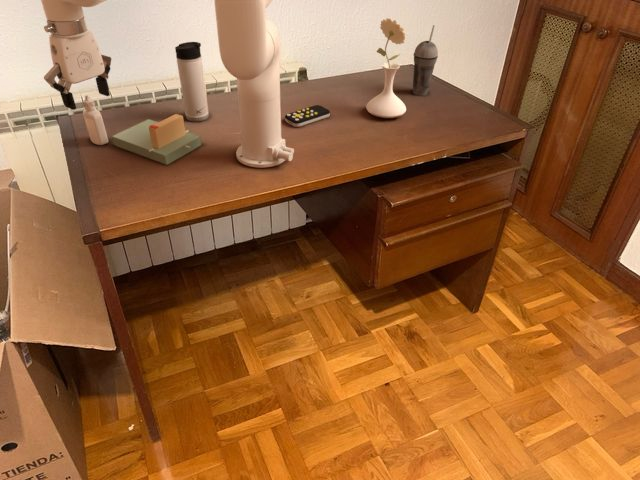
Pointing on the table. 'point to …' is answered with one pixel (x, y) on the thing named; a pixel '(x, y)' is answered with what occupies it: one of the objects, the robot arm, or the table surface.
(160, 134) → the orange block
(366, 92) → the table surface
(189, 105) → the travel mug
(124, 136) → the green flat block
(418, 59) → the beverage cup
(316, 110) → the remote control
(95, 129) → the eye dropper bottle
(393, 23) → the flower in vase
